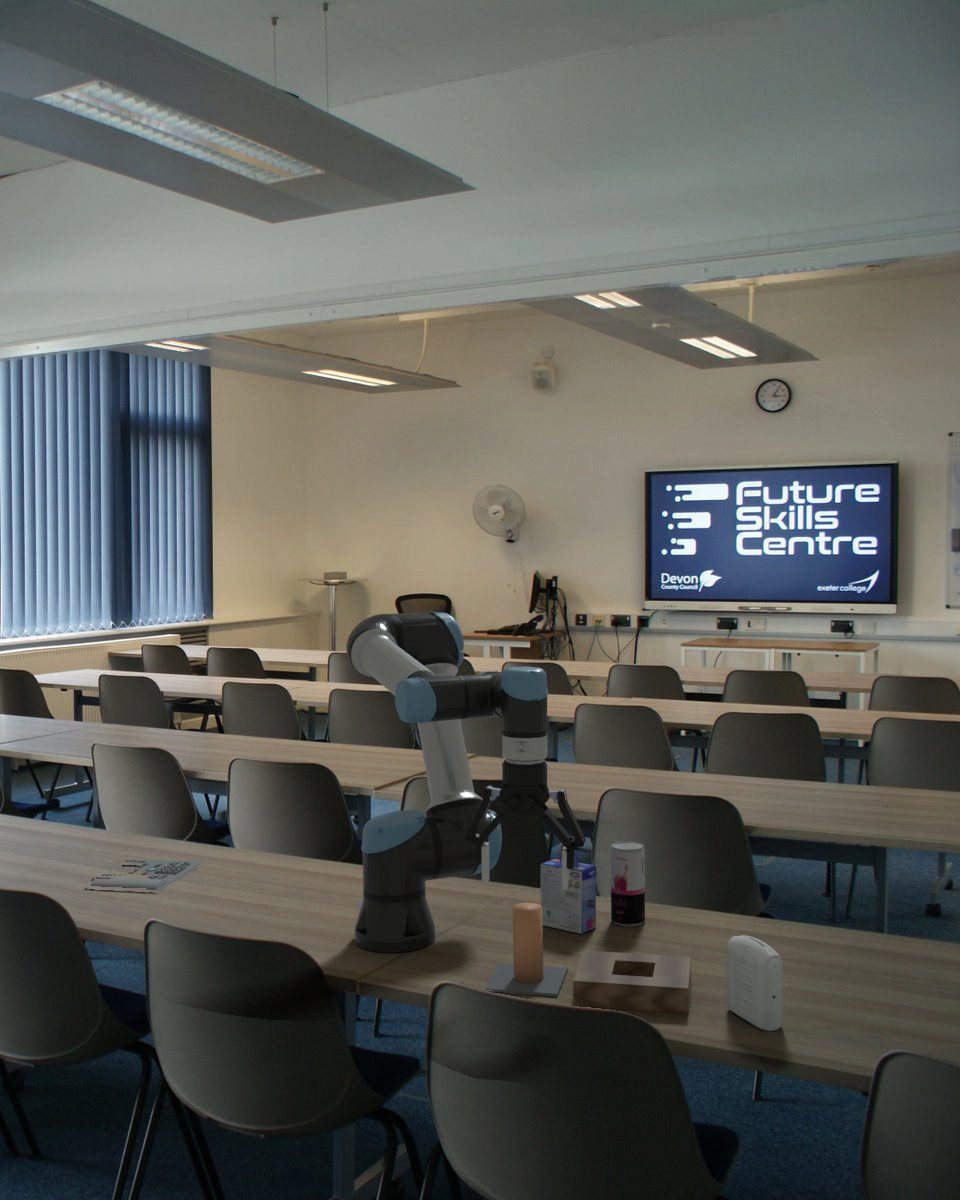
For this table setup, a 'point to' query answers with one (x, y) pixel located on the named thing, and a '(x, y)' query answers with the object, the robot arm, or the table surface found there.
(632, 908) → the beverage can
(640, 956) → the pocket block
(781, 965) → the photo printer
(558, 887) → the ink cartridge box
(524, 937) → the peg
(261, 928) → the table surface
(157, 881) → the office telephone
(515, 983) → the mat
